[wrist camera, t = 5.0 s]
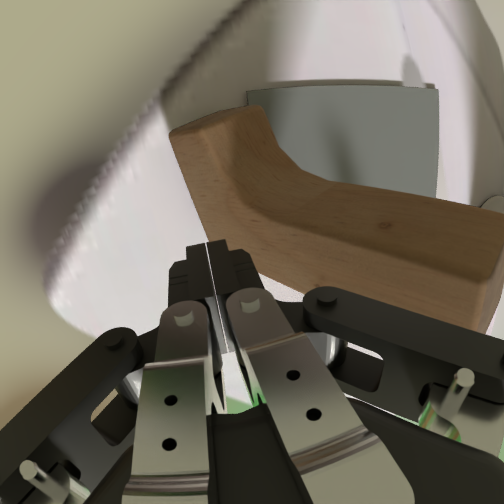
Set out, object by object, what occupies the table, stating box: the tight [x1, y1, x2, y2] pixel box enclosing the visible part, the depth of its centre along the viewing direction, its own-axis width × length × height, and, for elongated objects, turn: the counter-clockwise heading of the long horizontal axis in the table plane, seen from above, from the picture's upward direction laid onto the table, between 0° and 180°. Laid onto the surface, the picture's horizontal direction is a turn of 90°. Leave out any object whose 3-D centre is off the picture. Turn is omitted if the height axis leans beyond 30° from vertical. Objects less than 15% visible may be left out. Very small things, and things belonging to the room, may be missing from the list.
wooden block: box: [169, 105, 504, 334], centre depth 15 cm, size 9×4×18 cm, turn 17°
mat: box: [247, 85, 439, 198], centre depth 24 cm, size 17×12×1 cm
